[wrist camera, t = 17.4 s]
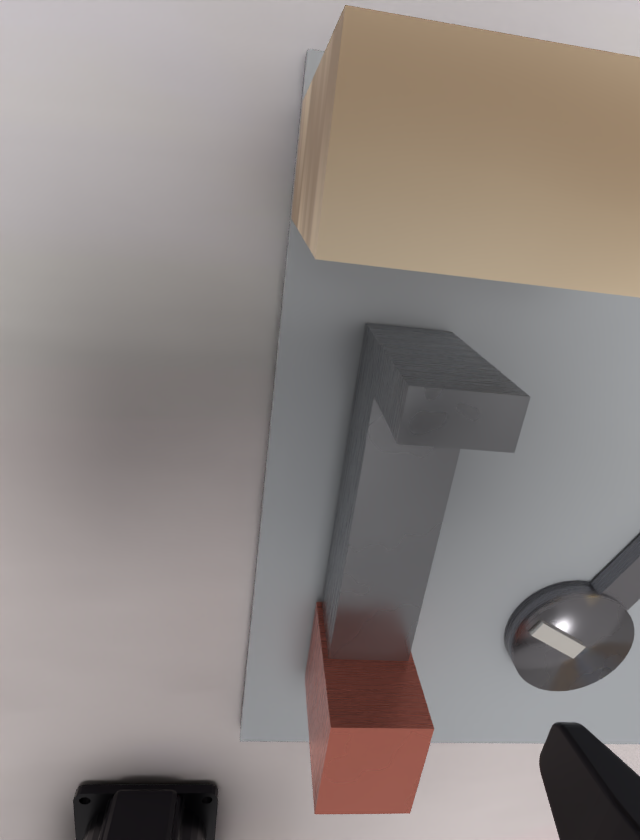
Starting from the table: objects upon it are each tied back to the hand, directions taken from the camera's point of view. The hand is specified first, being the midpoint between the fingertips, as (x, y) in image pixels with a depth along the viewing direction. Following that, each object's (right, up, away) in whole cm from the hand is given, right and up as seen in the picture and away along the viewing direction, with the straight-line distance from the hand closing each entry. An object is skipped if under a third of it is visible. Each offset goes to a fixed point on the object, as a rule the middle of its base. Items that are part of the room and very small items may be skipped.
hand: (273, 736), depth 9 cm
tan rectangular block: (+4, +12, +8) cm, 15 cm away
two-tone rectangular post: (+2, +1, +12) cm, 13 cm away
